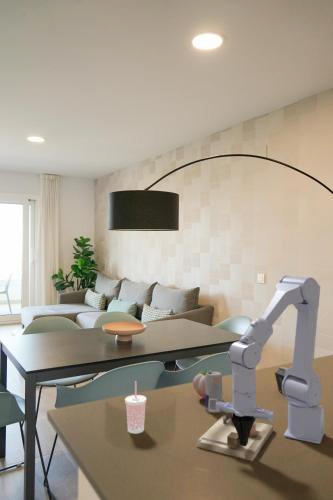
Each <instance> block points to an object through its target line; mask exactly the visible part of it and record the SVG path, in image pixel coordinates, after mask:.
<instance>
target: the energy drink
mask: <svg viewBox="0 0 333 500" xmlns="http://www.w3.org/2000/svg"><path fill="white" fill-rule="evenodd" d="M205 372H206V375H205V399H204V400H205V401H204V403H205V404H204V405H205V407H204V408H205V411H206V412H207V413H210V414H219V413H221V412H222V411H220V412H218V411H216V403H217V402H223V375H222V372H221V371H219V370H206V371H205Z"/></svg>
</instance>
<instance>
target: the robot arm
mask: <svg viewBox="0 0 333 500" xmlns="http://www.w3.org/2000/svg"><path fill="white" fill-rule="evenodd" d="M320 293H321V286H320V284H319V282H318V281H317V280H316V279H315V278H314V277H304V276H303V277H302V276H290V275H283V276H281V277H280V279H279V280H278V282H277V283H276V284H275V293H274V295H273V296H272V297H271V300H270V302H269V303H268V306H267V307H266V308H265V310H264V311H263V313H262V315H261V317H259V318H258V317H257V318H254V319H253V320H251V322H250V324H249V326H248V327H247V329H246V330H245V331H244V333H243V334H242V336H241V337H240V339H239V340H238V341H235V342H233V343H232V344H231V345H230V346H229V349H228V352H227V353H226V355H227V359H228V360H229V362H230V369H231V370H232V371H231V372H232V373H231V374H232V375H231V376H232V385H231V386H232V387H231V389H232V394H231V395H232V402H226V401H222V402H217V403H216V411H218V412H220V411H221V412H224V413H227V414H228V413H233V414H232V418H231V421H232V423H233V425H234V426H235V429H236V431H237V434H238V437H239V441H240V445H241V446H246V445H247V444H248V439H249V434H250V431H251V428H252V426H253V424H254V422H256V420H264V421H267V423H273V421H274V420H275V419H274V418H275V416H274V415H275V412H274V411H270V410H267V409H264V408H261V407H258V406H256V405H257V404H256V403H257V402H256V401H257V399H256V395H257V392H256V390H257V389H256V388H257V387H256V383H257V381H256V367H257V366H258V365H259V364H260V362H261V359H262V354H263V351H264V349H263V348H264V346H265V345H266V344H267V342H268V340H269V339H270V338H271V336H272V335H273V333H274V327H273V325H274V324H275V323H276V322H277V320H278V319H279V318H280V316H282V314H283V313H284V311H285V310H287V308H288V306H290V305H293V307H294V308H295V309H296V310H297V314H296V316H297V317H296V326H295V337H294V347H293V359H292V365H291V366H290V367H289V368H287V370H286V371H285V377H284V379H283V382H282V392H283V393H282V394H283V395H284V396H285V400H286V401H287V429H286V430H285V432H284V434H283V437H285V438H290V439H293V440H294V439H295V440H300V441H304V442H308V443H313V444H317V445H320V444H321V442H322V440H323V437H324V434H325V408H324V406H323V405H319V403H320V402H321V400H322V398H323V397H322V396H323V389H322V378H321V376H319V374H318V373H317V372H316V371H315V370H314V359H315V358H314V357H315V347H316V335H317V324H318V316H319V305H320V304H319V303H320V295H321V294H320ZM221 412H220V413H221Z"/></svg>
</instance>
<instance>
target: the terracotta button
mask: <svg viewBox="0 0 333 500" xmlns="http://www.w3.org/2000/svg"><path fill="white" fill-rule="evenodd" d="M254 437H255V438H256V437H257V436H256V423H254V424H253V426H252V428H251V431H250V434H249V438H254Z"/></svg>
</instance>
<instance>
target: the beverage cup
mask: <svg viewBox="0 0 333 500" xmlns="http://www.w3.org/2000/svg"><path fill="white" fill-rule="evenodd" d="M137 381H138V380H135V381H134V394H131V395H128V396H126V397H125V398H124V402H125V406H126V407H125V408H126V422H127V432H128V433H129V434H140V433H143V432H144V431H145V420H146V419H145V417H146V403H147V397H146V396H145V395H141V394H138V393H137V390H138V389H137Z"/></svg>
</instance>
